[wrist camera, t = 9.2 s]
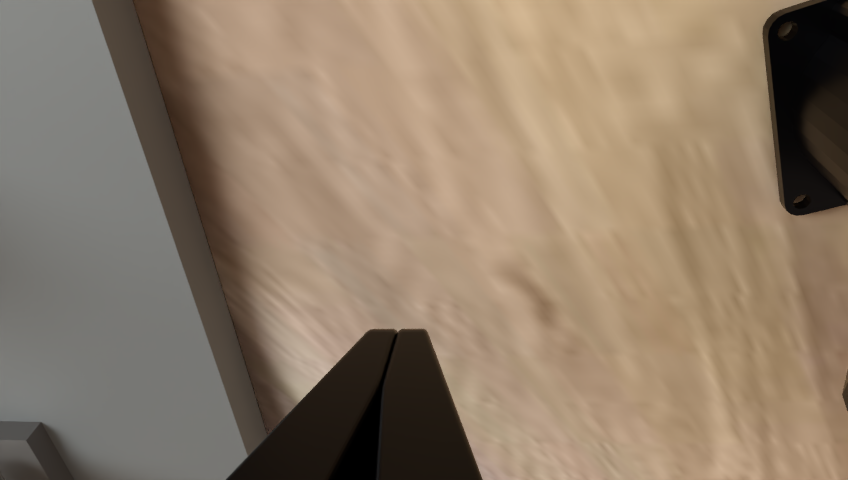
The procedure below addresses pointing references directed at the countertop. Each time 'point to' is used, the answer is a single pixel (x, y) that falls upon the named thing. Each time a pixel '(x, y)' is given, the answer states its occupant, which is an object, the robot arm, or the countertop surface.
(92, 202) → the switch panel
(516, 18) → the countertop surface
